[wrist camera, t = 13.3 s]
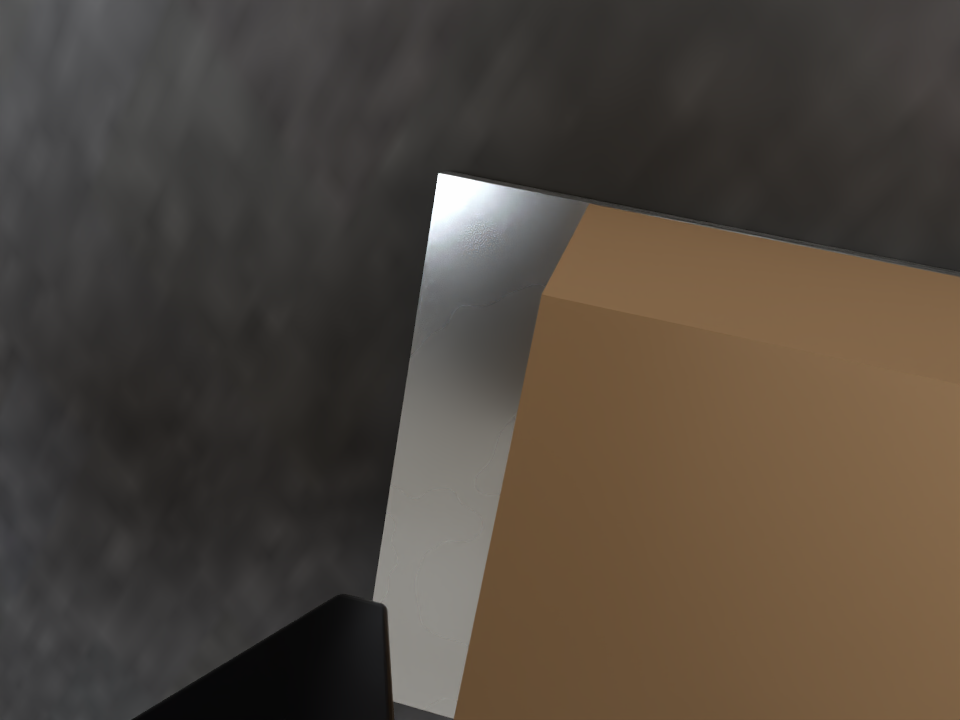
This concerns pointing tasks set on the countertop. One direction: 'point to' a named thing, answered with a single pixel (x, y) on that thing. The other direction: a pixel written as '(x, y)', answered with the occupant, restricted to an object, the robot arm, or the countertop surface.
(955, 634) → the tan block
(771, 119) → the countertop surface
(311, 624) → the robot arm
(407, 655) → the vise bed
